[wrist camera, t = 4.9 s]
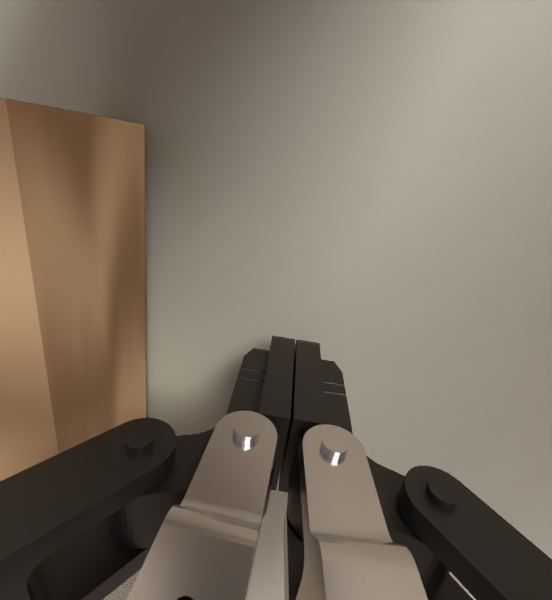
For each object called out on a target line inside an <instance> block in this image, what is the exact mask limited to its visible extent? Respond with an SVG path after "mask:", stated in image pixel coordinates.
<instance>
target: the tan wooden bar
mask: <svg viewBox="0 0 552 600" xmlns="http://www.w3.org/2000/svg"><path fill="white" fill-rule="evenodd" d="M139 418H146V286H145V137H144V124H139V123H134V122H128V121H123V120H117V119H112V118H107V117H101V116H96V115H91V114H85V113H80V112H75V111H69V110H64V109H59V108H53V107H48V106H43V105H37V104H32V103H26V102H21V101H16V100H10V99H5V98H0V480H1V481H2V480H4V479H6V478H8V477H10V476H13V475H15V474H17V473H19V472H21V471H23V470H25V469H27V468H30V467H32V466H34V465H36V464H38V463H40V462H42V461H44V460H47V459H49V458H51V457H53V456H55V455H57V454H59V453H61V452H63V451H66V450H68V449H70V448H72V447H74V446H76V445H78V444H80V443H83V442H85V441H87V440H89V439H91V438H93V437H95V436H97V435H100V434H102V433H104V432H106V431H108V430H110V429H112V428H114V427H117V426H119V425H121V424H123V423H125V422H128V421H130V420H134V419H139Z"/></svg>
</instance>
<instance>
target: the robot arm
mask: <svg viewBox="0 0 552 600" xmlns="http://www.w3.org/2000/svg"><path fill="white" fill-rule="evenodd" d="M294 348H295V349H294ZM279 472H280V477H279ZM278 477H279V490H278V491H284V492H288V502H287V510H286V515H285V519H284V589H285V600H473V599H472V598H471V597H470V596H469V595H468V594H467V593H466V592H465V591H464V590H463V588H462V587H461V586H460V585H459V584H458V583H457V582H456V581H455V580H454V579H453V578H452V577H451V575H450V574H449V572H451V573H452V574H453V575H454V576H455V577H456V578H457V579H458V580H459V581H460V582H461V583H462V584H463V586H464V587H465V588H466V589H467V590H468V591H469V592H470V593H471V594H472V595H473V596H474V597H475V598H476V600H552V559H550V558H549V557H548V556H547V555H546V554H545V553H543V552H542V551H541V550H540V549H539V548H538V547H536V546H535V545H534V544H533V543H532V542H530V541H529V540H528V539H527V538H526V537H525V536H523V535H522V534H521V533H520V532H519V531H517V530H516V529H515V528H514V527H513V526H512V525H510V524H509V523H508V522H507V521H506V520H504V519H503V518H502V517H501V516H500V515H499V514H497V513H496V512H495V511H494V510H493V509H491V508H490V507H489V506H488V505H487V504H486V503H484V502H483V501H482V500H481V499H480V498H478V497H477V496H476V495H475V494H474V493H473V492H471V491H470V490H469V489H468V488H467V487H465V486H464V485H463V484H462V483H461V482H460V481H458V480H457V479H456V478H454V477H453V476H451V475H450V474H448V473H446V472H444V471H442V470H440V469H437V468H434V467H430V466H417V467H414V468H412V469H410V470H409V471H408V473H407V474H406V476H403V475H401V474H399V473H397V472H394V471H392V470H390V469H388V468H385V467H383V466H381V465H379V464H377V463H376V462H374V461H373V460H371V459H370V458H369V457H367V456H366V453H365V450H364V448H363V446H362V444H361V442H360V441H359V440H358V439H357V438H356V437H355V436H354V435H353V433H352V427H351V421H350V415H349V409H348V404H347V398H346V392H345V386H344V380H343V374H342V372H341V370H340V369H339V368H338V366H337V365H336V364H335V362H333V361H327V360H321V356H320V344H319V343H314V342H308V341H302V340H296V344H295V339H289V338H283V337H277V336H272V341H271V347H270V351H266V350H260V349H254V348H253V349H252V350H251V351H250V352H249V353H247V354H246V355H245V356H244V358H243V362H242V365H241V369H240V371H239V375H238V378H237V381H236V385H235V388H234V391H233V394H232V398H231V401H230V404H229V408H228V411H227V414H226V416H224V417H223V418H221V419H220V420H219V422H218V423H217V425H216V427H215V428H213V429H211V430H209V431H206V432H203V433H200V434H193V435H183V436H175V433H174V430H173V429H172V428H171V426H169V425H168V424H167V423H165V422H164V421H161V420H159V419H154V418H139V419H134V420H130V421H128V422H125V423H123V424H121V425H119V426H117V427H114V428H112V429H110V430H108V431H106V432H104V433H102V434H100V435H97V436H95V437H93V438H91V439H89V440H87V441H85V442H83V443H80V444H78V445H76V446H74V447H72V448H70V449H68V450H66V451H63V452H61V453H59V454H57V455H55V456H53V457H51V458H49V459H47V460H44V461H42V462H40V463H38V464H36V465H34V466H32V467H30V468H27V469H25V470H23V471H21V472H19V473H17V474H15V475H13V476H10V477H8V478H6V479H4V480H2V481H0V600H103V599H104V598H105V597H106V596H107V595H109V594H110V593H111V592H112V591H114V590H115V589H116V588H117V587H119V586H120V585H121V584H122V583H124V582H125V581H126V580H127V579H128V578H130V577H131V576H132V575H133V574H135V573H136V572H137V571H138V570H140V569H141V570H140V572H139V574H138V576H137V578H136V581H135V583H134V585H133V587H132V589H131V591H130V593H129V596H128V598H127V600H246V598H247V593H248V588H249V583H250V577H251V572H252V567H253V562H254V557H255V552H256V547H257V542H258V537H259V532H260V527H261V522H262V518H263V517H264V515H265V513H266V510H267V505H268V500H269V495H270V490H276V487H277V482H278Z"/></svg>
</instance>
